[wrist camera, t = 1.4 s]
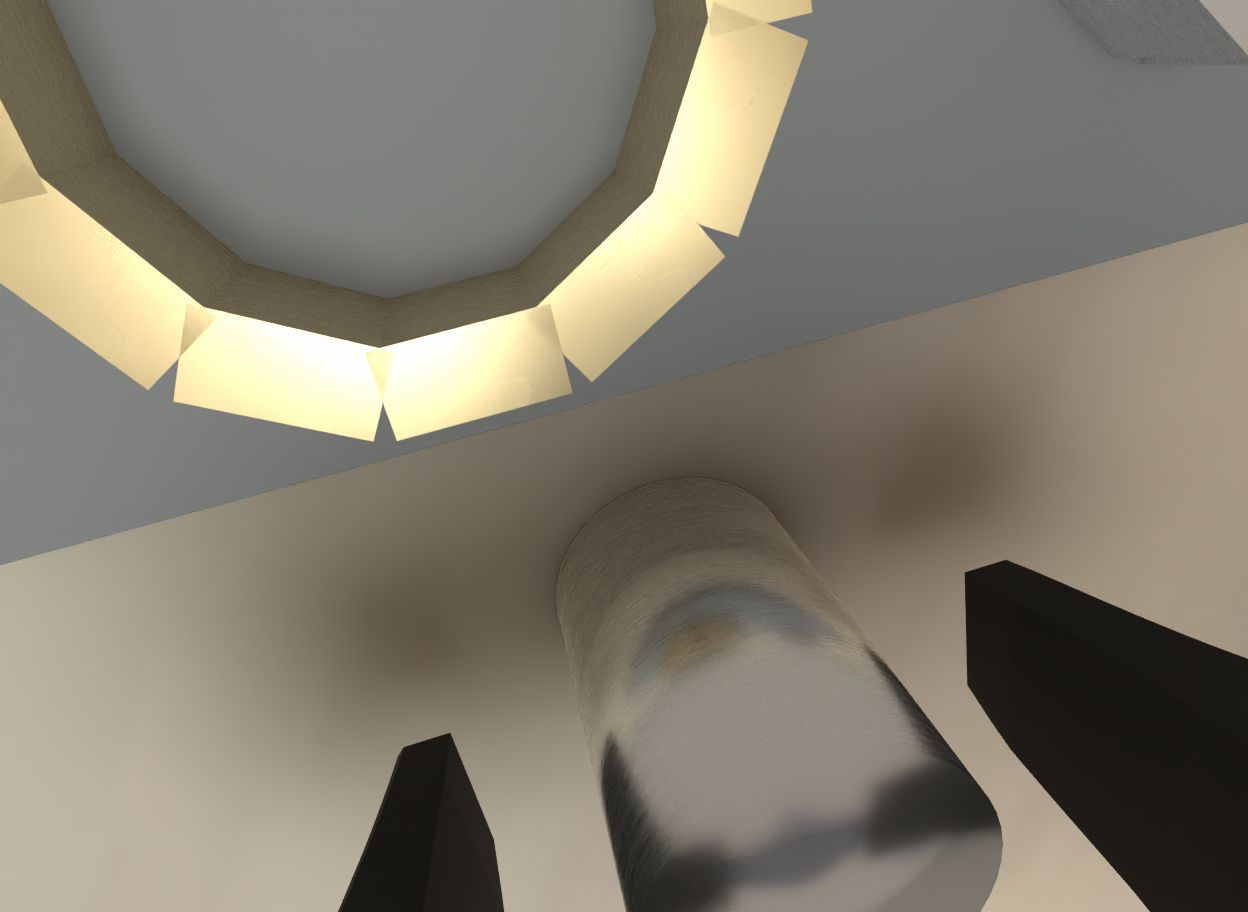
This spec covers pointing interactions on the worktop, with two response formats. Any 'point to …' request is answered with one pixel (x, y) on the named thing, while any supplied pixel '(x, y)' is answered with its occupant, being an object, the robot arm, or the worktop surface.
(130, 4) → the fitting board
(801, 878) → the metal cylinder peg
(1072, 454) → the worktop surface
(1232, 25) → the narrow socket
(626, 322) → the wide socket
